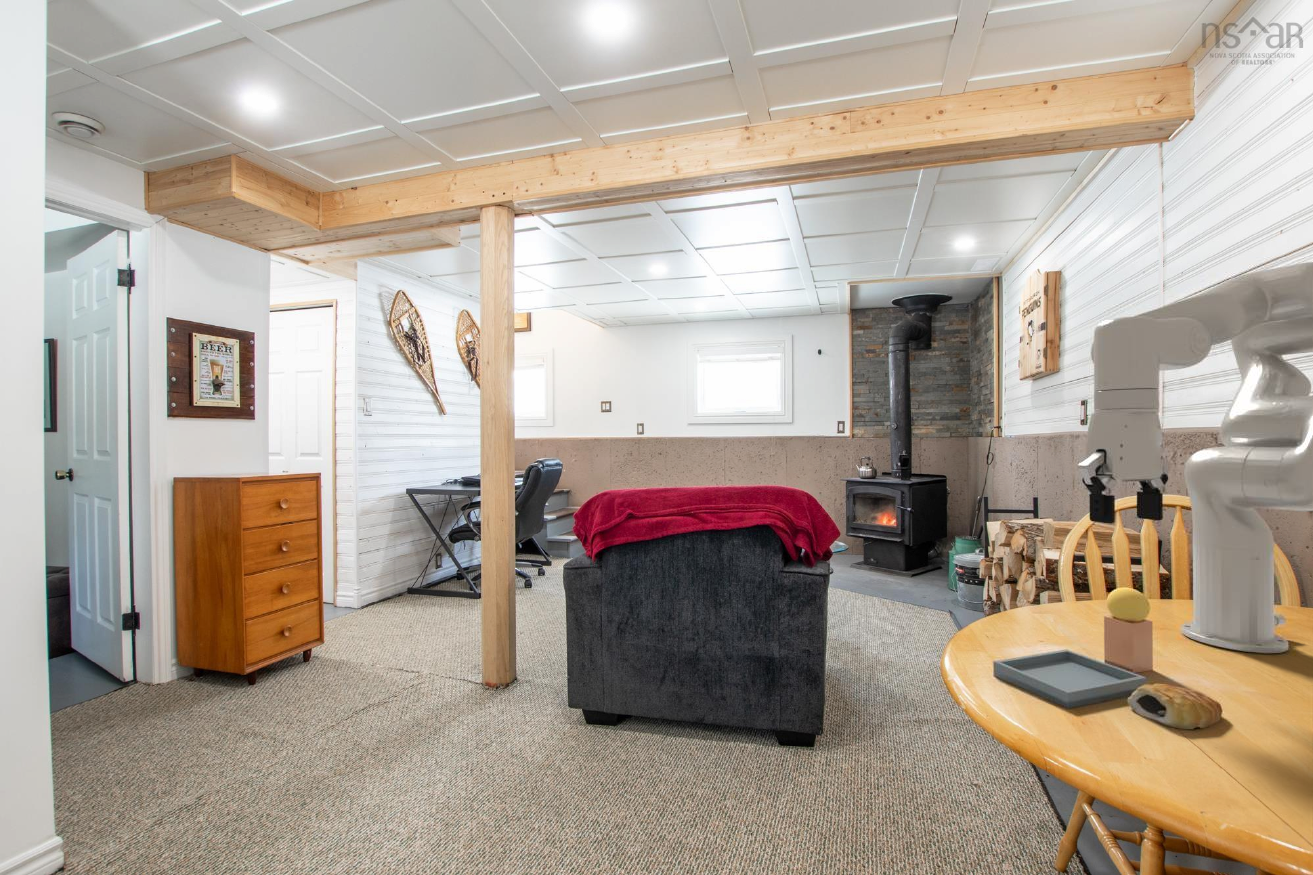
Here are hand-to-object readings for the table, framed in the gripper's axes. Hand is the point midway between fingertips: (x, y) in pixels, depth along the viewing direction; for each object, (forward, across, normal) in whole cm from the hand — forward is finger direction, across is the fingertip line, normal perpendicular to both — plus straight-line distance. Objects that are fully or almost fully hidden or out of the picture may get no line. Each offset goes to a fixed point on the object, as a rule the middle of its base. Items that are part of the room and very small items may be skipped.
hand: (1126, 520), depth 88 cm
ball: (+12, 0, 0) cm, 12 cm away
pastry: (+22, +10, +12) cm, 27 cm away
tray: (+22, +14, +2) cm, 25 cm away
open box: (+21, 0, 0) cm, 21 cm away
